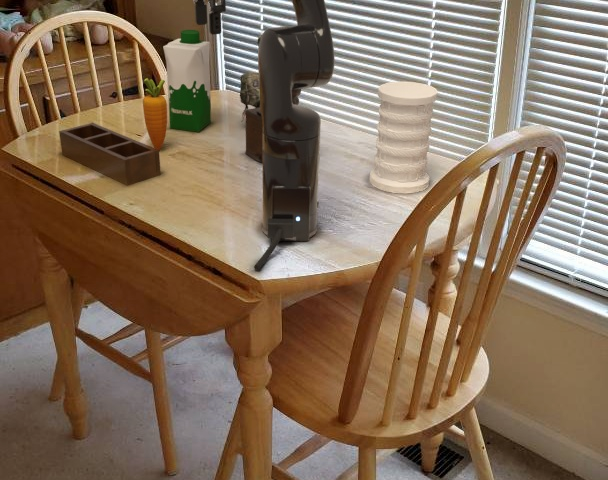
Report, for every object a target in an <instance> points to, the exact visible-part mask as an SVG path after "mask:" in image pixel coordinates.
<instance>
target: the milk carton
mask: <svg viewBox="0 0 608 480" xmlns="http://www.w3.org/2000/svg"><path fill="white" fill-rule="evenodd" d="M200 35H201V34H200V31H199V30H197V29H184V30H181V31H180V38H177V39H174V40H173V41H169V42H168V43H167V44H165V45H163V47H162V48H163V54H164V58H165V65H166V78H167V96H168V112H169V113H168V114H169V115H168V116H169V129H173V130H180V131H185V132H194V133H199V132H201V131H202V130H204V129H205V128H206V127H207V126H208V125H210V124H211V123H212V121H211V120H212V114H211V113H212V99H211V97H212V96H211V72H210V67H211V66H210V55H211V53H210V52H211V51H210V50H211V49H210V46H211V42H210V41H206V40H201V37H200Z"/></svg>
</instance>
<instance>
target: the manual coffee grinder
mask: <svg viewBox="0 0 608 480" xmlns="http://www.w3.org/2000/svg"><path fill="white" fill-rule="evenodd" d="M301 93H302V89H297V90H291V94H292V103H293V104H295V105H299V104H300V98H299V96H300V95H301ZM244 154H245V155H247V156H248V157H250V158H252V159H254V160H255V161H257V162H259V163H261V164H263V122H262V115H261V109H260V107H258V108H255V107H252V108H248V110H246V115H245V153H244Z"/></svg>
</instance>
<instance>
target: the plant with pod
mask: <svg viewBox="0 0 608 480" xmlns="http://www.w3.org/2000/svg"><path fill="white" fill-rule="evenodd" d="M263 33H264V32H262V33H261V34H260V35H259V36H258V37H257V41H256V42H257V45H258V47H259V42H260V38H261V36H262V34H263ZM258 47H257V48H258ZM239 98H240V103H242V104H243V105H244V106H245V107H244V110H243V112H242V115H241V120H240V122H242V123H243V121H244V119H245V118H246V110H248V109H249V106H251V107H253V108H258V107H260V88H259V72H252V71H247V72H245V73H243V74H241V75H240V90H239Z"/></svg>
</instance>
